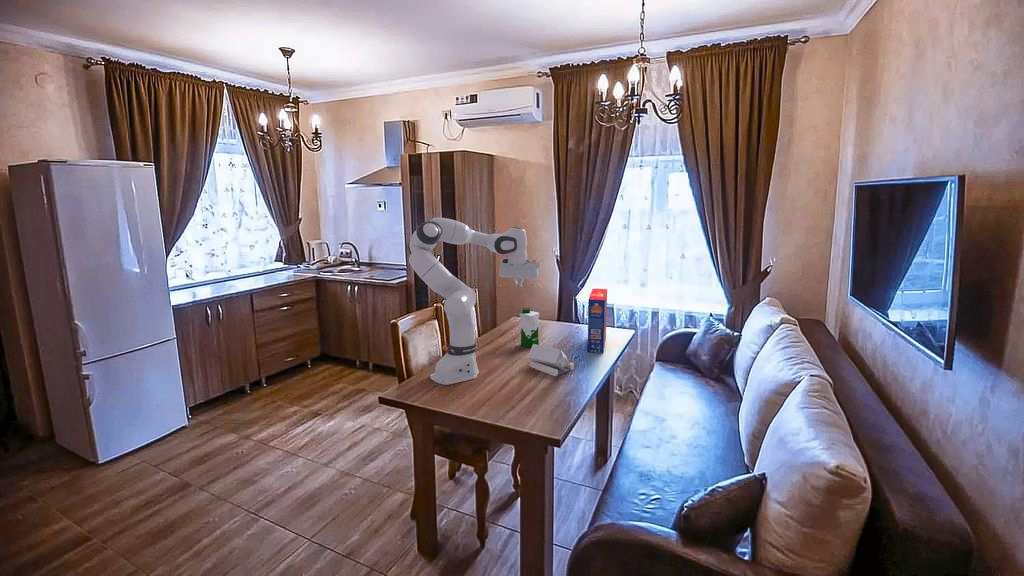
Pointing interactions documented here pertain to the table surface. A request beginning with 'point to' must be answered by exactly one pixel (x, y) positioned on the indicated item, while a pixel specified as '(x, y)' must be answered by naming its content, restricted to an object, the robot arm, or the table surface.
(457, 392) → the table surface
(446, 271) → the robot arm
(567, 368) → the cradle
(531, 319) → the soya milk
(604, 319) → the pasta box
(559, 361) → the milk carton
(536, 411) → the table surface
